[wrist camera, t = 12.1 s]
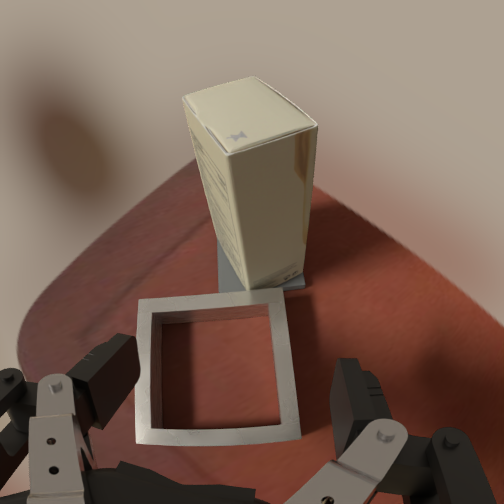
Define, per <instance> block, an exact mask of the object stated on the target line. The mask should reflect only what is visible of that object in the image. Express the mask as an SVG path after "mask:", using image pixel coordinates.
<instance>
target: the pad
mask: <svg viewBox="0 0 504 504" xmlns="http://www.w3.org/2000/svg"><path fill="white" fill-rule="evenodd" d="M217 250H218V282H219V293H228V292H238V291H246V289H245V288H244V286H243V284H242V283H241V281H240V279H239V277H238V276H237V274H236V272H235V270H234V269H233V267H232V265H231V263H230V261H229V260H228V258H227V256H226V254H225V252H224V250H223V248H222V246H221V244H220V242H219V240H218V238H217ZM278 287H282V288H283V291H286V290H295V289H304V288H305V281H304V275H303V272H302V273H300V274H299V275H297V276H295V277H293V278H291V279H289V280H287V281H285V282H283V283H281V284H279V285H277V286H275V287H273V288H278Z"/></svg>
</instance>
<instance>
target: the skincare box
mask: <svg viewBox="0 0 504 504" xmlns="http://www.w3.org/2000/svg"><path fill="white" fill-rule="evenodd" d="M182 101H183V105H184V110H185V114H186V118H187V122H188V126H189V130H190V134H191V139H192V142H193V147H194V151H195V154H196V159H197V163H198V167H199V171H200V175H201V178H202V182H203V186H204V190H205V194H206V198H207V202H208V205H209V209H210V213H211V217H212V221H213V224H214V228H215V232H216V236H217V238H218V240H219V242H220V244H221V246H222V248H223V250H224V252H225V254H226V256H227V258H228V260H229V261H230V263H231V265H232V267H233V269H234V270H235V272H236V274H237V276H238V277H239V279H240V281H241V283H242V284H243V286H244V288H245V289H246V291H249V290H259V289H269V288H273V287H275V286H277V285H279V284H281V283H283V282H285V281H287V280H289V279H291V278H293V277H295V276H297V275H299V274H300V273H302V272H303V266H304V259H305V251H306V242H307V233H308V226H309V217H310V207H311V198H312V189H313V177H314V166H315V155H316V144H317V132H318V124H317V123H316V122H315V121H314V120H313V119H312V118H311V117H309V116H308V115H307V114H306V113H305V112H304V111H302V110H301V109H300V108H299V107H298V106H296V105H295V104H294V103H293V102H291V101H290V100H289V99H287V98H286V97H285V96H283V95H282V94H280V93H279V92H278V91H276V90H275V89H273V88H272V87H271V86H269V85H268V84H266V83H265V82H263V81H261V80H260V79H258V78H257V77H255V76H251V77H247V78H244V79H239V80H236V81H232V82H228V83H224V84H221V85H217V86H213V87H210V88H206V89H203V90H199V91H196V92H193V93H190V94H186V95H184V96H183V97H182Z"/></svg>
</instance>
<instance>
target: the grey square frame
mask: <svg viewBox="0 0 504 504" xmlns="http://www.w3.org/2000/svg"><path fill="white" fill-rule="evenodd" d="M260 316H269V324H270V333H271V342H272V351H273V360H274V369H275V378H276V388H277V397H278V407H279V416H280V425H273V426H262V427H250V428H235V429H208V430H175V429H163V418H162V324H170V323H187V322H202V321H215V320H227V319H239V318H250V317H260ZM136 340H137V346H138V353H139V360H140V367H141V373H140V378H139V380H138V382H137V383H136V385H135V426H136V443H139V444H152V445H171V446H228V445H247V444H260V443H271V442H281V441H289V440H297V439H301V430H300V421H299V412H298V404H297V395H296V387H295V379H294V371H293V363H292V355H291V347H290V339H289V332H288V324H287V317H286V310H285V302H284V295H283V288H282V287H278V288H269V289H259V290H249V291H238V292H228V293H216V294H205V295H193V296H180V297H167V298H153V299H139V305H138V319H137V336H136Z"/></svg>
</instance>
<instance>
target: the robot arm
mask: <svg viewBox="0 0 504 504" xmlns="http://www.w3.org/2000/svg"><path fill="white" fill-rule="evenodd" d="M140 373H141V367H140V360H139V353H138V346H137V340H136V338H135V337H134V336H130V335H125V334H120V333H117V334H116V335H115V336H113V337H112V338H111V339H110V340H109V341H108V342H105V343H103V344H100V345H98V346H96V347H95V348H94V349H93V350H91V351H90V352H89V354H87V355H86V356H85V357H84V358H83V359H82V360H81V361H79V362H78V363H77V364H76V365H75V366H74V367H73V368H72V369H71V370H70V371H69V372H68V373H67V374H65V375H63V374H51V375H48V376H46V377H44V378H43V379H41V380H40V382H39V383H33V382H26V381H25V379H24V376H23V374H22V372H21V371H20V370H18V369H15V368H7V369H4V370H1V371H0V417H1V416H2V415H3V414H4V413H5V412H6V411H7V413H8V415H9V417H10V419H11V421H10V423H9V424H8V425H7V426H6V427H5V428H4V429H3V430H2V431H1V432H0V490H1V489H2V488H3V486H4V485H5V484H6V482H7V481H8V479H9V478H10V477H11V475H12V474H13V473H14V471H15V470H16V469H17V467H18V466H19V465H20V463H21V462H22V461H23V460H24V458H25V457H26V456H27V454H28V453H29V477H30V490H27V491H24V492H20V493H16V494H12V495H8V496H4V497H0V504H270V503H268V502H265V501H263V500H260V499H257V498H255V491H256V489H251V488H242V487H234V486H226V485H183V484H179V483H177V482H175V481H172V480H170V479H168V478H166V477H164V476H162V475H160V474H158V473H156V472H154V471H152V470H150V469H146V468H143V467H139V466H136V465H133V464H129V463H126V462H123V461H120V463H119V465H118V466H117V468H116V469H115V468H100V469H98V467H97V463H96V459H95V454H94V450H93V445H92V441H91V436H90V433H89V429H90V428H91V426H92V427H95V428H98V429H101V430H103V429H104V427H105V426H106V425H107V423H108V422H109V421H110V419H111V418H112V416H113V415H114V414H115V412H116V411H117V410H118V408H119V407H120V405H121V404H122V403H123V401H124V400H125V399H126V397H127V396H128V394H129V393H130V392H131V390H132V389H133V388H134V386H135V385H136V383H137V382H138V380H139V378H140ZM330 411H331V418H332V426H333V434H334V442H335V450H336V459H337V461H335V460H330V461H329V462H328V463H327V464H325V465H324V466H323V467H322V469H321V470H320V471H319V472H317V473H316V474H315V475H314V476H313V477H312V478H311V479H310V480H309V481H308V482H307V483H306V484H305V485H304V486H303V487H302V488H301V489H300V490H299V491H297V492H296V493H295V494H294V495H293V496H292V497H291V498H290V499H289V500H287V501H286V502H285V503H284V504H370V503H371V501H372V500H373V499H374V497H375V496H376V494H377V493H378V492H384V493H391V494H398V495H402V497H403V503H404V504H497V503H496V500H495V498H494V495H493V493H492V490H491V488H490V485H489V483H488V480H487V478H486V475H485V473H484V471H483V468H482V466H481V464H480V461H479V459H478V457H477V455H476V452H475V450H474V448H473V446H472V444H471V442H470V440H469V438H468V436H467V435H466V434H465V433H464V432H463V431H461V430H459V429H456V428H452V427H445V428H441V429H439V430H437V431H436V432H435V433H434V434H433V436H432V438H426V437H418V436H412V435H409V434H408V433H407V430H406V428H405V427H404V426H403V425H402V424H400V423H399V422H397V421H394V420H393V418H392V416H391V413H390V410H389V408H388V405H387V402H386V400H385V397H384V396H383V392H382V389H381V386H380V384H379V381H378V379H377V378H376V377H375V376H374V375H373V374H372V373H371V372H370V371H362V370H361V367H360V364H359V362H358V359H357V358H338V359H337V362H336V366H335V371H334V376H333V381H332V386H331V390H330Z"/></svg>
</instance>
